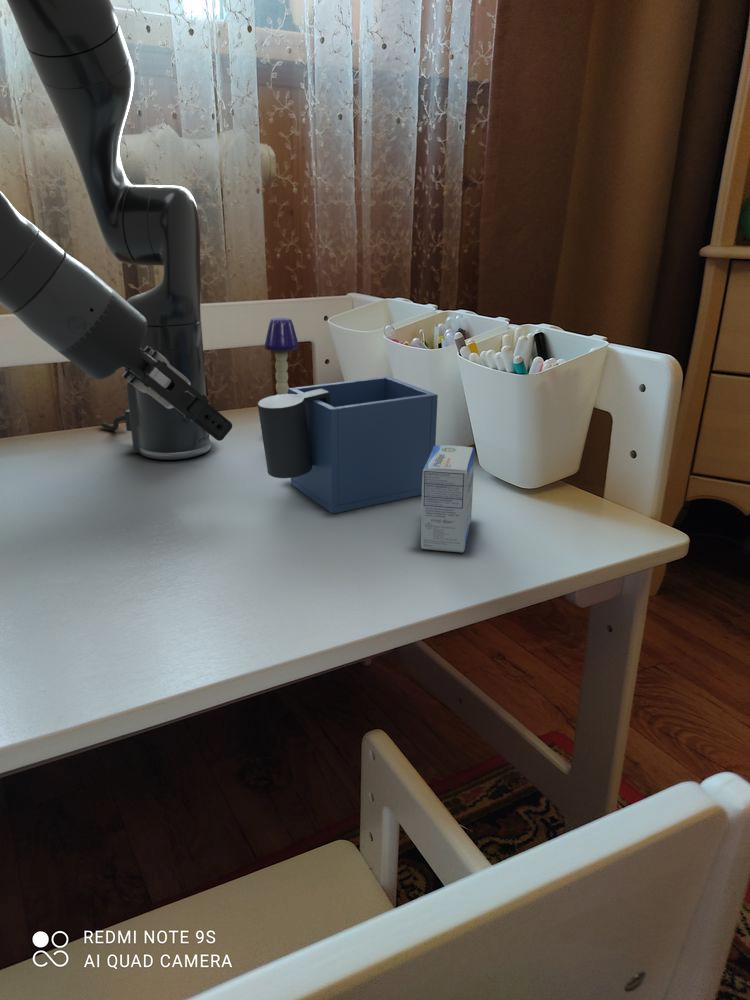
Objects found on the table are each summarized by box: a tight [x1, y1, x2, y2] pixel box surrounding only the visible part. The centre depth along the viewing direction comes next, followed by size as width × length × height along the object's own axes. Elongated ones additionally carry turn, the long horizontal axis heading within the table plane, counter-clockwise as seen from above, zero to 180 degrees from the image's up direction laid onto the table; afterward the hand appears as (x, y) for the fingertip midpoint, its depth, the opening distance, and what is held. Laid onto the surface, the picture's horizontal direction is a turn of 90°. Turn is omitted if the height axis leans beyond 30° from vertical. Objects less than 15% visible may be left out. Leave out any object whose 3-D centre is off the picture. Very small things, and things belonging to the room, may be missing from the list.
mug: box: [257, 389, 331, 479], centre depth 85 cm, size 8×5×8 cm, turn 121°
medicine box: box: [420, 444, 476, 554], centre depth 78 cm, size 8×4×9 cm, turn 168°
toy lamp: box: [264, 317, 299, 395], centre depth 108 cm, size 5×5×17 cm
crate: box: [287, 375, 439, 515], centre depth 90 cm, size 14×11×12 cm
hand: (211, 422), depth 79 cm, fingers open, 8 cm apart
